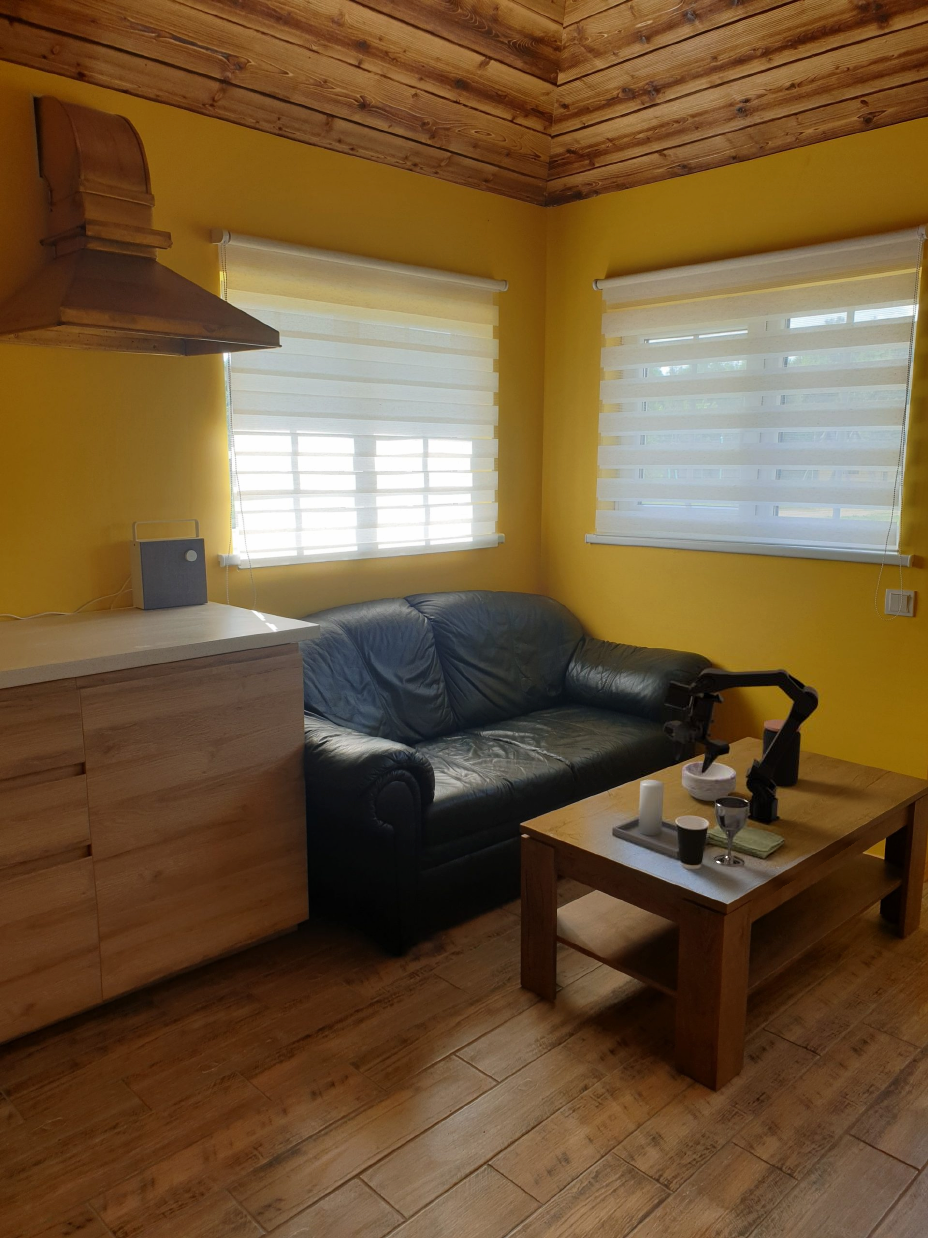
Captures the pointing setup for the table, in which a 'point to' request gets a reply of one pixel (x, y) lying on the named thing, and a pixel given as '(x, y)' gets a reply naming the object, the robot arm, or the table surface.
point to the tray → (651, 837)
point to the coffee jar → (789, 761)
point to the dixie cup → (691, 840)
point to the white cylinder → (651, 807)
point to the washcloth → (747, 841)
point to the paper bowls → (708, 780)
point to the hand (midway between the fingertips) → (689, 766)
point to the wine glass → (731, 825)
